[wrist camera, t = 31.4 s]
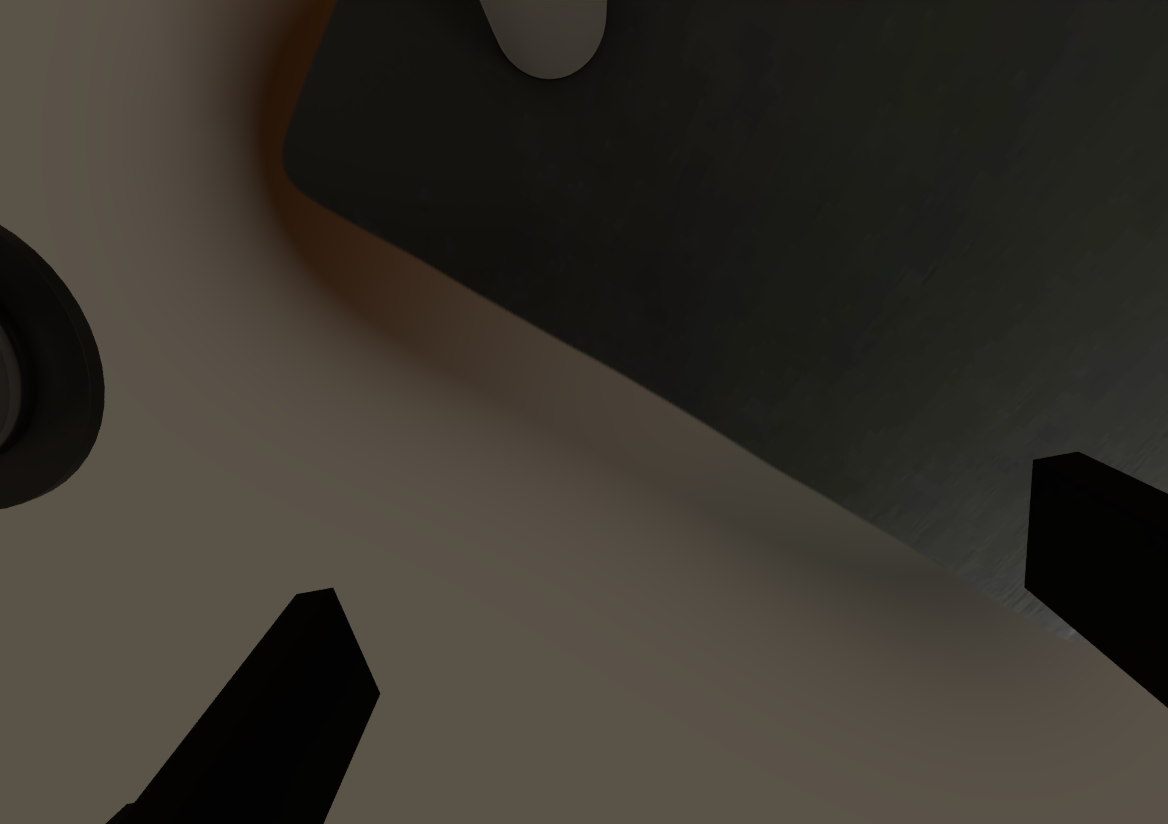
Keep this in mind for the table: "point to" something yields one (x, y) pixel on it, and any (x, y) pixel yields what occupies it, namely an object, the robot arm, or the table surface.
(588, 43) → the can
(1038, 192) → the table surface
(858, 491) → the table surface
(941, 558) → the table surface
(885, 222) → the table surface
